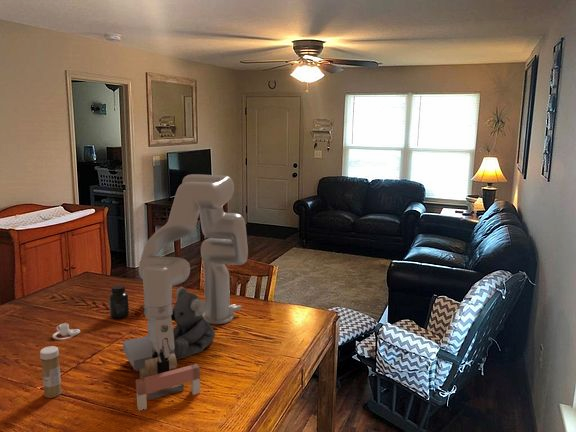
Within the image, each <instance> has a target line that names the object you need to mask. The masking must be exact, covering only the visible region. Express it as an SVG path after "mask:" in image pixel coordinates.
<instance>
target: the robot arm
mask: <svg viewBox="0 0 576 432" xmlns="http://www.w3.org/2000/svg"><path fill="white" fill-rule="evenodd" d="M234 192H235V184H234V181H233V179H232V178H231V176H228V175H216V174H215V175H214V174H213V175H212V174H199V173H197V174H196V173H195V174H193V173H192V174H187V175H186V176H184V177H183V178H182V183H181V184H179V186H178V188H177V190H176V192H175V196H174V199H173V203H172V204H171V205H172V206H171V209H170V212H169V217H168V220H167V222H166V223H165V224H164V225H163V226H161V227H160V228H159V229H158V230H156V231H155V232H154V233H153V234H152V235H151V236H150V237H149V239H148V240H147V241H146V243H145V245H144V247H143V250H142V254H141V257H140V260H139V264H138V274H139V277H140V278H141V279H142V285H143V286H142V287H143V303H144V308H143V310H144V317H145V318H147V336H148V339H149V342H150V344H151V345H152V353H153V354H152V359H153V358H157V357H158V361H157V370H158V374H160V373H164V372H167V371H169V357H170V353H169V348H170V349H171V350H174V348H175V347H174V334H173V329H174V326H173V325H174V324H173V321H172V319H171V315H172V314H173V308H174V306H173V287H176V286H178V285H181V284H183V283H184V282H185V281H187V279H188V278H189V276H190V274H191V266H190V265H191V264H190V263H189V262H188V260H187V259H185V258H183V257H182V258H181V257H174V256H161V255H158V254H159V252H161V250H162V249H163V248H164V247H165V246H168V245H169V244H170V243H173V242H176V241H178V240H181V239H183V238H186V237H188V236H189V237H190V235H193V233H194V232H195V230H196V229H197V228H196V226H197V223H198V219H200V220H199V221H200V226H201V232H202V234H203V236H204V237H206V238H207V239H205V240H203V241H202V242H201V245H200V256H201V261H202V264H203V265H202V266H203V289H204V297H203V298H204V304H205V313H203V315H202V316H203V318H204V319H205V321H206V322H208V323H209V324H210V325H222V324H223V325H224V324H227V323H230V322H231V321H233V320H234V317H235V313H234V312H238V311H241V310H242V305H241V304H239V305H236V304H235V303H234V304H230V303H231V301H230V299H231V297H230V296H231V295H230V291H231V290H230V273H229V269H228V268H227V266H226V265H233V266H241V265H244V264H245V263H246V262H247V261H248V257H249V256H248V255H249V246H248V236H247V235H248V234H247V227H246V220H245V219H244V217H243V215H242V214H240V213H235V212H225V211H224V207H223V206H225V204H227V203H228V202H230V200H231V199H232V198H233V195H234ZM168 347H169V348H168Z"/></svg>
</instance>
